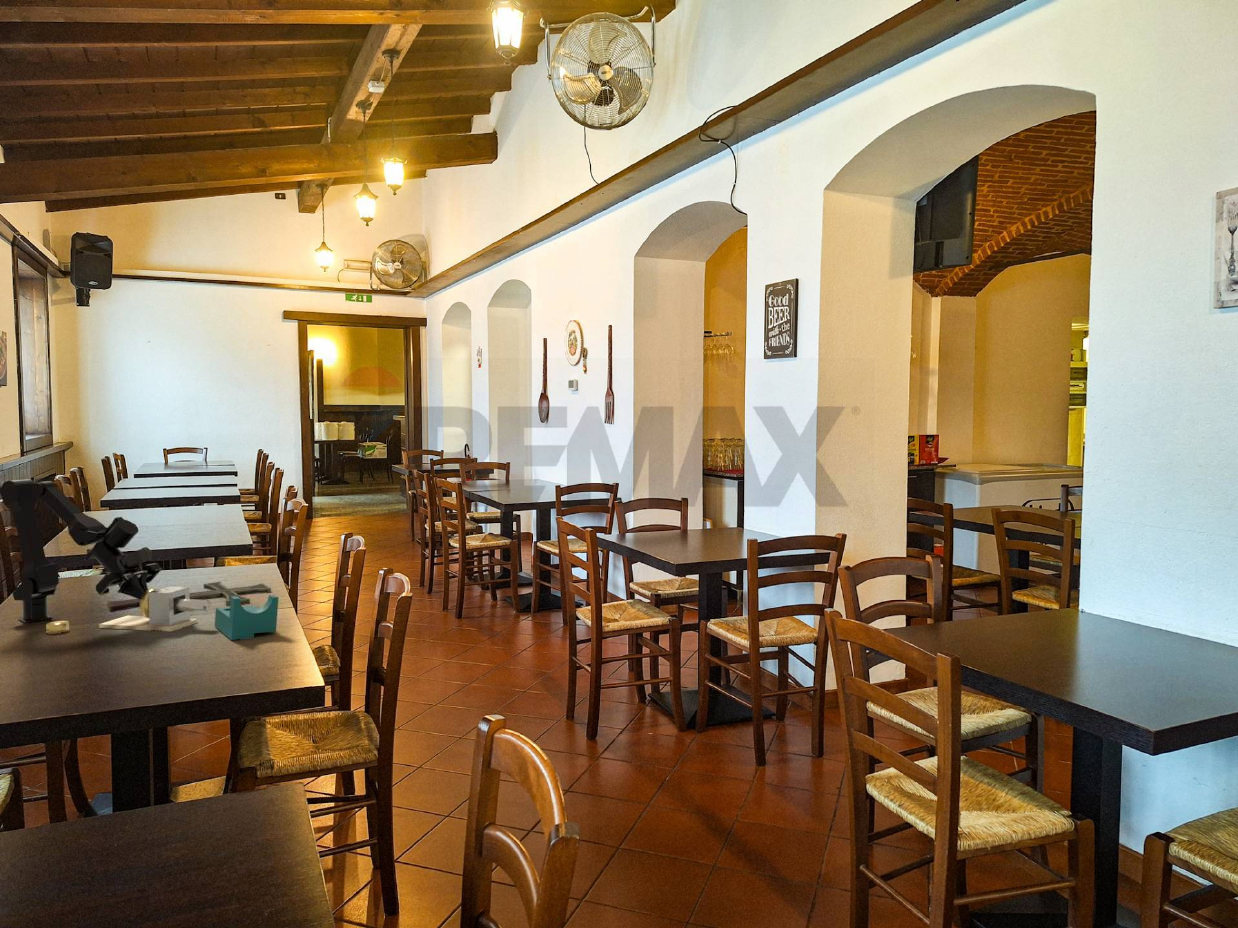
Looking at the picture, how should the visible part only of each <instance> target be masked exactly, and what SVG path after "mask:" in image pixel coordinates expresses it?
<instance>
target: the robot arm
mask: <svg viewBox="0 0 1238 928" xmlns="http://www.w3.org/2000/svg"><path fill="white" fill-rule="evenodd" d="M0 497H1V499H2V502H3V504H4V506H5V507H6V508H7V509H8V510H9V511H10V512H11V513H12V514H13V518H14V523H15V527H16V531H17V536H18V540H19V545H20V549H21V553H22V557H23V561H24V564H23V567H22V569H21V572H20V584H19V585H17V587H16V588H15V589H14V591H13V592H12V597H13V600H15V601H21V602H22V616H20V617H17V618H18V620H19V621H21V622H23V623H31V622H38V621H44V620H45V621H46V620H50V619H53V616H52V615H49V613H48V597H49V596H53V595H55V593H56V590H57V586H58V585H59V583H60V581H59V579H60V577H61V576H60V573H59V571H58V565H57V564H56V563H55V562H54V563H50V561H48V559H47V558H46V553H45V550H44V546H43V541H42V536H41V532H40V527H39V523H38V519H37V514H36V510H35V509H36V507H37V504H38V501H39V498H40V500H41V501H42V502H43V503H44V504H45V505H46V506H47V507H48V508H49V509H51V511H52V512H53V513H54V514H55V515H56V516H57V517H58V518H60V519H61V521H62V522H64V524H65V525H66V526H67V531H68V535H69V536H70V537H71V539H72V540H73V542H75V544H76V545H78V546H80V547H81V546H82V547H85V546H91V545H93V546H92V548H87V549H86V554H85V559H86V560H91V559H96V560H97V561H98V563H99V564H100V565H101V566H102V567H103V569H102V570H101V572H102V573H104V576H103V577H102V578H101V579H100V580H99V581H98V583H97V584H95V592H96V593H97V594H98V595H99V596H104V595H108V594H109V593H110V588H109V587H114V586H117V585H118V588H119V589H118V590H117V594H123V595H125V596H129V597H132V598H134V599H140V600H141V598H142V596H143V594H144V593H145V592H146V591H147V590H149V588H148V584H150V583H151V582H152V581H153V580H154V579H155V578H156V577H157V576H158V574H159V573H160V572H162V570H163V568H162V566H161V565H160V564H159V563H157V562H156V563H155V562H154V563H148V564H145V565H144V566H143V567H142V564H144V563H146V562H150V561H151V560H152V557H153V556H154V555H153V551H152V550H151V549H150V548H149V547H147V546H144V547H141V548H140V549H138V550H136V551H133V552H131V553H123V552H122V551H121V550H120V549H122V548H123V549H124V548H126V547H127V545H129V543H130V542H131V541H132V540H133V539H134V537H135V536H136V535H137V534H138V533H139V527H138V526H137V525H136V524H135V523H133V522H132V521H130V520H128V519H125V518H123V516H117V517H114V519H113V520H112V522H111V524H109V525H108V526H105V525H104V524H103V523H102V522H100V521H99V520H98V519H96V518H94V517H92V516H89V515H86V514H85V513H84V512H83V511H82V510H81V509H80V508H79V507H77V505H75V503H74V502H73V501H72V500H71V499H69V497H68V496H67V495H65V493H64V492H63V491H62V490H61V489H60V488H59V487H58V484H57V483H56V482H53V481H50V480H49V481H48V480H47V481H37V482H35V481H33V480H32V479H28V478H26V479H14V480H5V481H4V482H3V483H2V485H1V486H0ZM141 567H142V568H141ZM139 569H140V570H139ZM138 570H139V571H138Z"/></svg>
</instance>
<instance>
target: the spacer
mask: <svg viewBox="0 0 1238 928" xmlns="http://www.w3.org/2000/svg"><path fill="white" fill-rule="evenodd" d="M45 628H46V631H45V632H46V634H47V633H48V635H55V634H56V635H58V634H62V633H61V632H64V633H67V632H69V631H70V621H68V620H58V621H51V622H47V623H46V626H45ZM57 633H58V634H57Z"/></svg>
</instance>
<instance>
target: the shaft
mask: <svg viewBox="0 0 1238 928" xmlns="http://www.w3.org/2000/svg"><path fill="white" fill-rule="evenodd" d="M159 589H160V588H148V590H147V591H146V592H145V593H144V594H143V596H142V598H141V601H140V606H139V611H140V613H141V616H144V617H145V618H149V592H152V591H155V590H159ZM173 605H174V611H190V612H194V613H195V612H196V613H197V612H199V613H208V612H209V610H210V609H211V601H210V600H209V599H200V600H196V599H174V598H173Z"/></svg>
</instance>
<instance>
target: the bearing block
mask: <svg viewBox="0 0 1238 928" xmlns="http://www.w3.org/2000/svg"><path fill="white" fill-rule="evenodd" d="M158 589H159V590H155V591H152V592H149V621H150V626H166V627H170V626H173V625H176V624H179V623H182V622H185V621H187V620H190V619H191V611H174V605H173V598H174V599H189V593H190V587H189V586H166V587H164V588H163V587H162V588H158Z"/></svg>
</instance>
